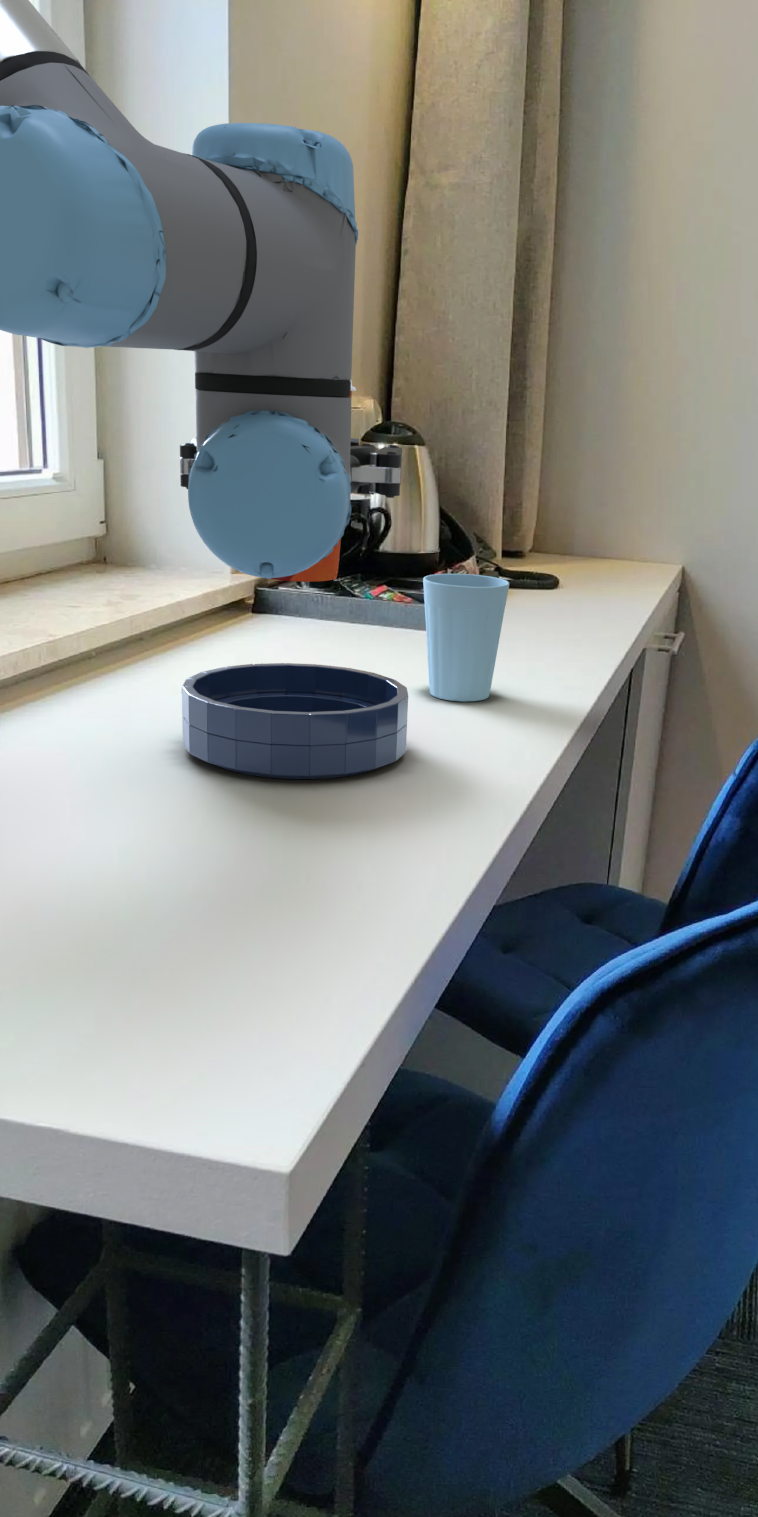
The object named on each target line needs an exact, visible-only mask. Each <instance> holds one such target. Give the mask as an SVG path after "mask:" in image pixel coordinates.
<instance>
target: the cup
mask: <svg viewBox="0 0 758 1517" xmlns="http://www.w3.org/2000/svg"><path fill="white" fill-rule="evenodd" d="M422 584H423V586H422V587H423V600H424V614H425V615H424V619H425V631H426V632H425V634H426V654H427V669H428V686H429V694H430V695H431V696H433V697H435V698H438V699H441V700H445V701H450V702H478V701H484V700H487V699H489V696H490V694H491V688H492V683H493V677H494V672H495V666H496V661H497V657H498V656H497V655H498V649H499V643H500V638H501V634H502V627H503V621H504V616H505V609H506V606H507V600H508V594H509V590H510V589H509V588H510V582H509V581H508V580H506V579H503V578H500V577H495V576H488V575H481V574H472V573H471V574H469V573H436V574H429V575H426V576H424V577H423V578H422Z"/></svg>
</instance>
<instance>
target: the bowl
mask: <svg viewBox="0 0 758 1517" xmlns="http://www.w3.org/2000/svg"><path fill="white" fill-rule="evenodd" d="M408 707H409V692H408V687H407V686H405V685H403V683H401V682H399V681H397V679H393V678H391V677H389V676H388V677H387V676H384V675H382V674H379V673H376V672H373V671H367V670H362V669H356V668H351V667H345V666H344V667H343V666H335V665H327V664H317V663H292V662H276V663H248V664H247V663H246V664H238V665H228V666H222V667H218V668H214V669H208V670H203V671H201V672H198V673H196V674H193V675H192V676H190V677H187V678H186V679H185V680H184V682H183V683H182V686H181V714H182V715H181V717H182V718H181V720H182V722H181V725H182V745H183V746H184V748H185V749H186V751H187V752H188V754H190V755H191V756H193V757H196V758H197V759H199V760H201V761H203V762H206V763H208V764H211V765H214V766H216V767H217V768H218V767H219V768H220V769H224V770H227V771H230V772H234V773H238V774H243V775H247V776H253V777H262V778H271V779H282V780H283V779H284V780H321V779H334V778H343V777H350V776H354V775H359V774H363V773H367V772H371V771H373V770H376V769H379V768H382V767H384V766H386V765H389V764H392V763H395V762H397V761H398V760H399V759H401V757H402V756H403V755H404V754H406V752H407V733H408V709H409V708H408Z"/></svg>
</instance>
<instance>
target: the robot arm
mask: <svg viewBox="0 0 758 1517" xmlns="http://www.w3.org/2000/svg"><path fill="white" fill-rule="evenodd" d="M354 176H355V175H354V162H353V159H352V157H351V155H350V152H349V150H348V149H347V147H346V146H345V144H343V143H342V142H341V141H340V140H339V139H337V138H335V137H334V136H332V135H330V134H327V133H324V132H322V131H318V130H312V129H303V128H298V127H296V126H293V125H286V124H275V123H260V122H229V123H228V122H227V123H220V124H219V123H218V124H214V125H211V126H207V127H206V128H203V129H202V130H201V131H199V133H197V135H196V137H195V138H194V140H193V142H192V146H191V154H189V153H185V152H181V151H177V150H175V149H171V148H168V147H166V146H165V147H164V146H161V145H158V144H155V143H153V142H151V141H150V140H149V139H147V138H146V137H145V136H143V135H142V134H141V133H140V132H139V131H138V130H137V129H136V128H135V127H134V126H133V124H132V123H131V122H130V121H129V120H128V119H127V117H126V116H125V115H124V114H123V113H122V111H121V110H120V109H119V108H118V107H117V106H116V104H115V103H114V102H113V101H112V100H111V99H110V97H109V96H108V95H107V94H106V93H105V91H104V90H103V89H102V88H101V87H100V86H99V84H98V83H97V82H96V81H95V79H93V77H92V76H91V74H89V73H88V71H87V70H86V69H85V68H84V67H83V65H82V64H81V62H80V61H79V59H78V58H77V56H75V54H74V53H73V52H72V51H71V49H70V48H69V47H68V46H67V45H66V43H65V42H64V41H63V40H62V39H61V37H60V36H59V35H58V34H57V32H55V30H54V29H53V28H52V26H51V25H50V24H49V22H48V21H47V20H46V19H45V18H44V16H42V15H41V13H40V12H39V11H38V10H37V8H36V7H35V6H34V5H33V3H32V2H31V1H30V0H0V331H2V332H5V333H9V334H12V335H16V336H23V337H31V338H36V339H40V340H42V341H44V342H47V343H50V344H53V345H57V346H61V347H72V348H73V347H74V348H75V347H76V348H83V349H92V348H99V347H100V348H101V347H104V348H105V347H107V348H126V349H127V348H128V349H131V348H132V349H152V350H173V351H187V352H188V351H189V352H194V353H193V354H194V390H195V434H196V435H195V438H194V437H193V438H192V439H191V440H190V441H191V442H185V444H179V473H180V476H179V477H180V478H179V479H180V487H182V488H186V490H187V499H188V500H187V501H188V508H189V512H190V517H191V520H192V523H193V525H194V528H195V530H196V532H197V534H198V536H199V537H200V539H201V540H202V542H203V543H204V545H205V546H206V547H207V548H208V550H209V551H210V552H211V553H212V554H213V555H214V556H215V557H217V558H218V560H220V562H222V563H224V564H225V565H227V566H228V567H230V568H232V569H234V570H235V571H238V572H240V573H242V574H245V575H249V576H251V577H257V578H261V579H262V578H263V579H266V580H269V579H270V578H279V577H286V576H290V575H294V574H297V573H300V572H302V571H304V570H306V569H308V568H310V567H311V566H313V565H314V564H316V563H318V562H320V561H321V560H323V559H324V558H326V557H327V556H328V555H329V554H330V553H331V552H332V551H333V547H334V546H336V545H338V541H339V539H340V538H341V539H342V537H344V535H345V529H346V528H347V526H348V525H349V524H350V521H351V520H350V519H351V516H352V503H351V496H352V495H351V494H353V493H355V492H356V494H361V495H373V496H374V495H381V496H385V498H388V499H394V498H395V497H399V496H400V495H401V494H400V493H401V485H402V459H403V458H402V456H403V448H402V447H400V446H398V445H396V444H389V446H383V447H381V448H380V449H377V450H376V446H375V445H372V444H371V443H362V444H360V438H352V398H351V397H350V394H351V382H350V380H351V379H352V369H353V368H352V366H353V365H352V364H353V340H354V339H353V338H354V337H353V336H354V313H355V312H354V310H355V307H354V305H355V282H356V281H355V279H356V275H355V274H356V254H357V250H356V247H357V244H358V241H359V229H358V223H357V221H356V207H355V206H356V205H355V179H354V178H355V177H354ZM270 580H271V579H270Z"/></svg>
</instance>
